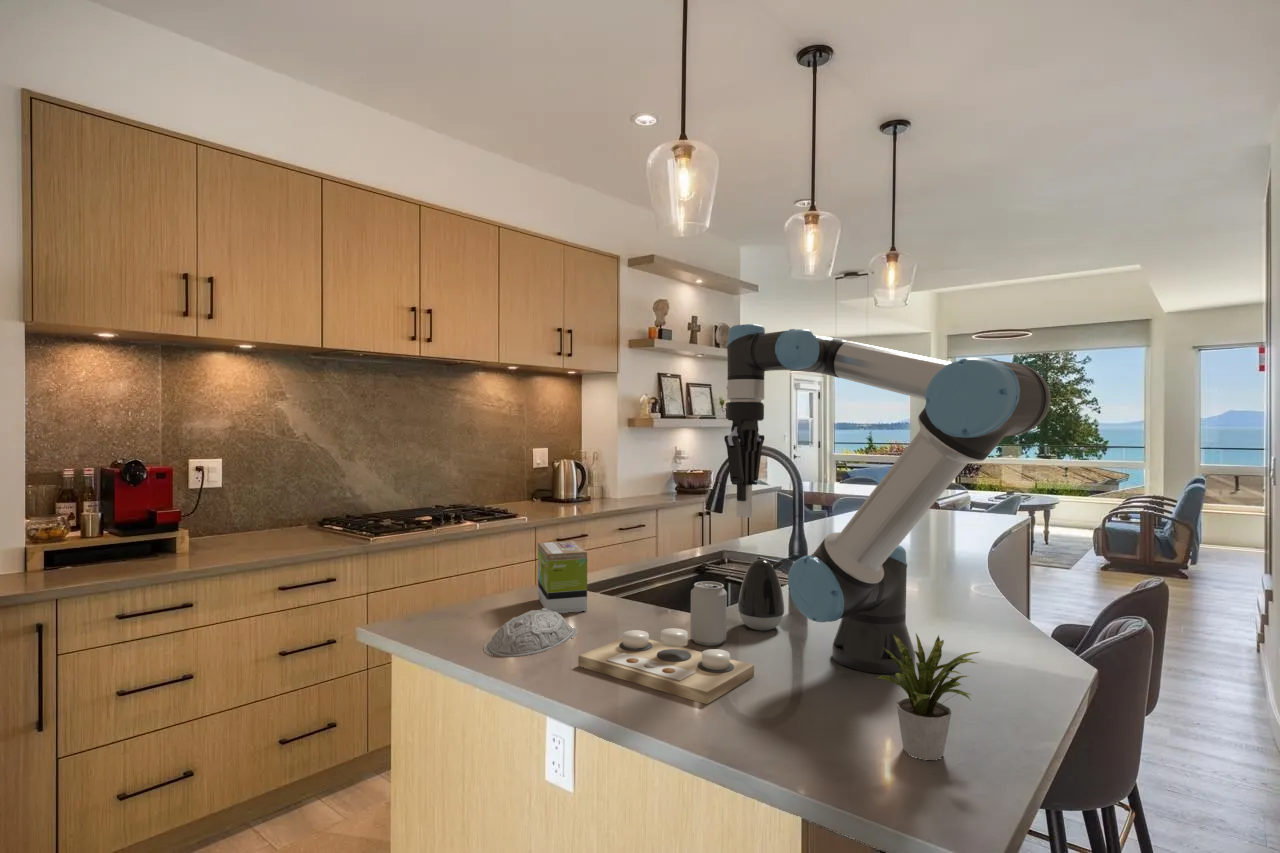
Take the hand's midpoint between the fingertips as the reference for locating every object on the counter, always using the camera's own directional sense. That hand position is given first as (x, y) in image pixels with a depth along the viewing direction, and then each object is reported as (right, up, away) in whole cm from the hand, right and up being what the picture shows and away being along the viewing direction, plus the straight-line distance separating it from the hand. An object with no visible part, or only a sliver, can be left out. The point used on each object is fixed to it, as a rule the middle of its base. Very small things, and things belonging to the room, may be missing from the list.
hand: (744, 516), depth 142 cm
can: (-7, -27, +3) cm, 28 cm away
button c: (-22, -24, -7) cm, 33 cm away
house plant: (+18, -27, -47) cm, 57 cm away
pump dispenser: (+6, -27, +13) cm, 30 cm away
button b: (-15, -22, -13) cm, 29 cm away
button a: (-8, -24, -18) cm, 31 cm away
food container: (-44, -27, +3) cm, 51 cm away
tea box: (-41, -26, +30) cm, 57 cm away
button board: (-17, -26, -15) cm, 35 cm away
